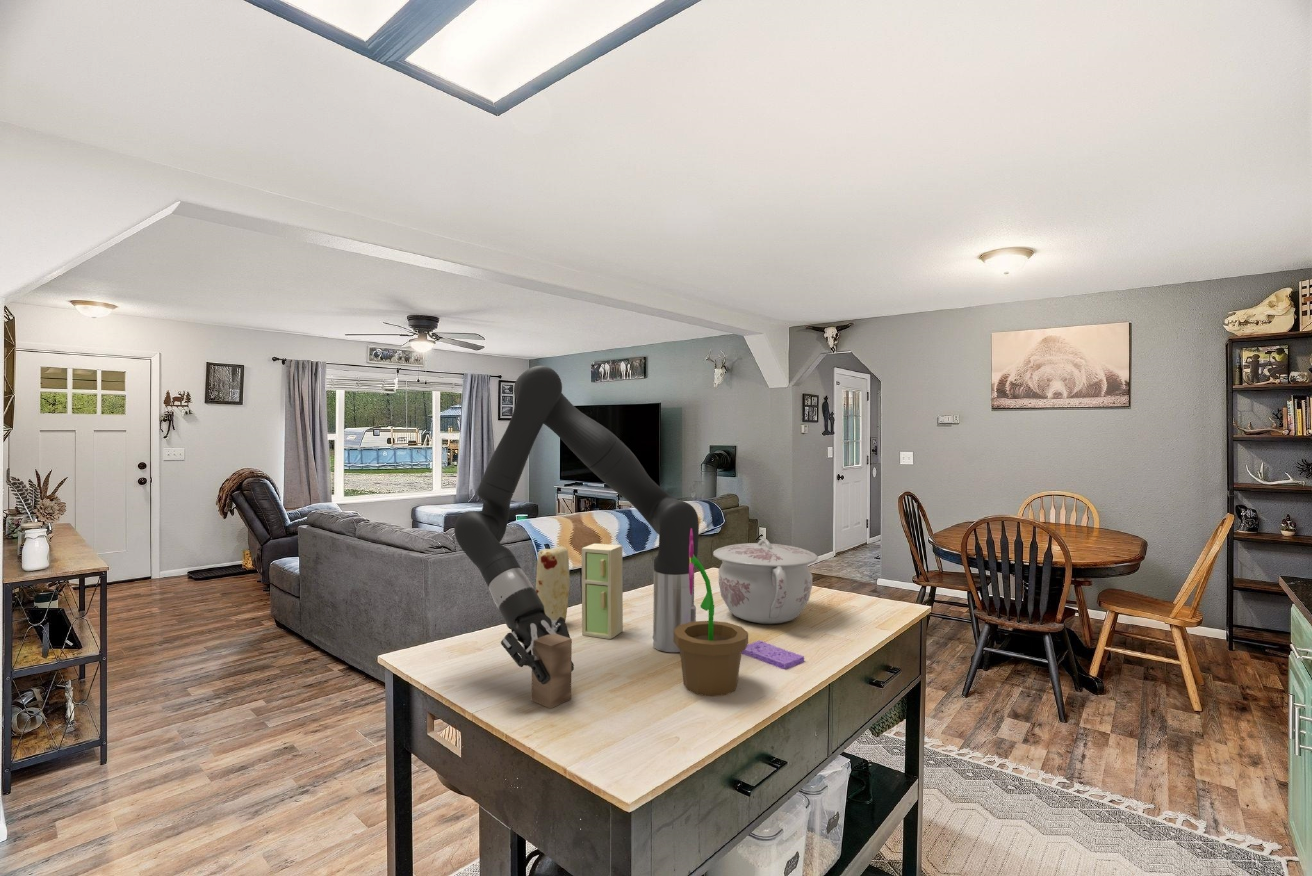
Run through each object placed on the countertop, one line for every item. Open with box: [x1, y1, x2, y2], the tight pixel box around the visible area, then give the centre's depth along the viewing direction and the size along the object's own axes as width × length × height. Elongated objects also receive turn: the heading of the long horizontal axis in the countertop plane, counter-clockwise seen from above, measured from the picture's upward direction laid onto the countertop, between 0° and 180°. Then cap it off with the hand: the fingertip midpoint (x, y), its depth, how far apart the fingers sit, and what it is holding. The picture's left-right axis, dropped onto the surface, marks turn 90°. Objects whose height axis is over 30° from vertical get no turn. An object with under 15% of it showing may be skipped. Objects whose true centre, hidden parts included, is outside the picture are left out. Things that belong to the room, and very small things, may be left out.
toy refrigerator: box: [581, 543, 624, 640], centre depth 149 cm, size 8×7×21 cm
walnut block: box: [531, 633, 573, 709], centre depth 112 cm, size 5×5×11 cm
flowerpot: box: [673, 528, 749, 697], centre depth 119 cm, size 14×14×30 cm
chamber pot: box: [712, 538, 819, 625], centre depth 164 cm, size 28×28×21 cm
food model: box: [535, 545, 570, 630], centre depth 153 cm, size 10×7×20 cm
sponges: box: [741, 639, 805, 670], centre depth 134 cm, size 7×13×2 cm, turn 40°
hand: (558, 676), depth 111 cm, fingers closed on walnut block, 5 cm apart
